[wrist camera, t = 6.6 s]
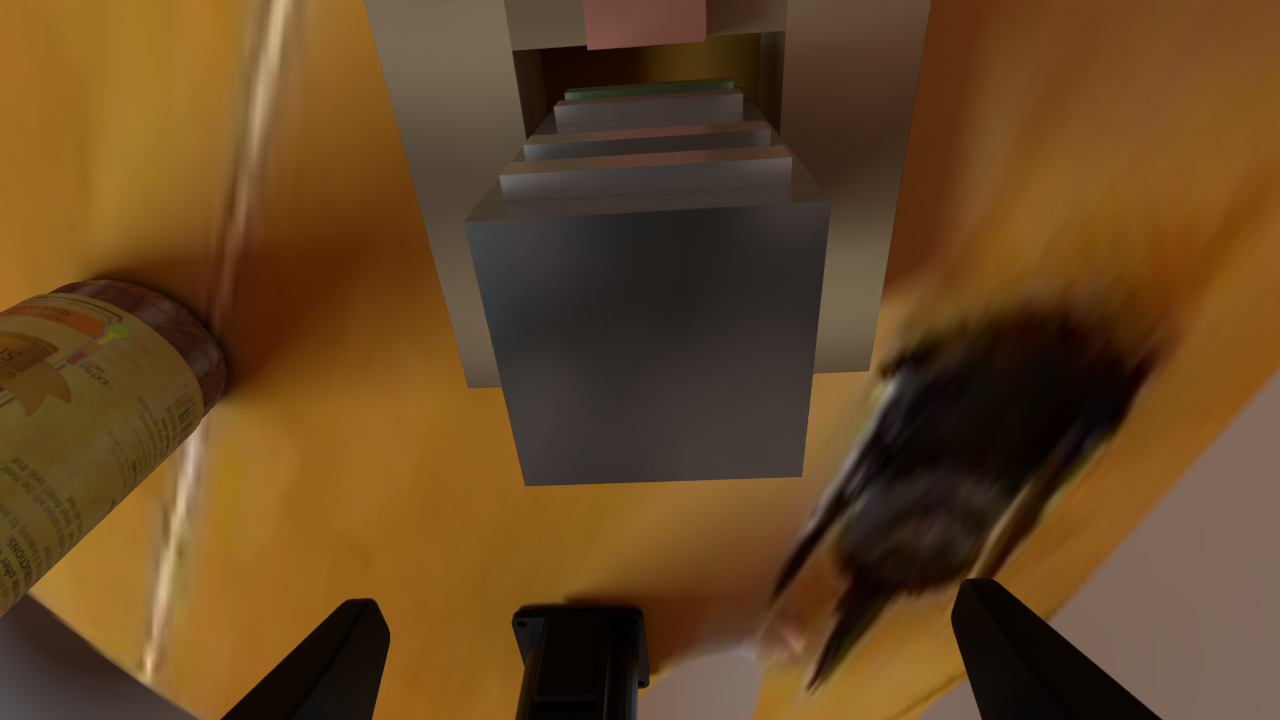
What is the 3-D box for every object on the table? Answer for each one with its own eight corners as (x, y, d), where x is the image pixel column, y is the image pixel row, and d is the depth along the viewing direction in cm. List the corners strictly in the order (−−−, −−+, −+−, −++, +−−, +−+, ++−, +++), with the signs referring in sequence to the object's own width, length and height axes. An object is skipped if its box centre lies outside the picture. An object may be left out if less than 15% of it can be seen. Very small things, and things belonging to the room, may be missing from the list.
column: (736, 267, 15) (800, 491, 9) (582, 275, 16) (528, 500, 9) (740, 71, 13) (835, 172, 6) (558, 84, 13) (457, 195, 6)
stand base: (838, 314, 20) (882, 395, 16) (494, 331, 21) (457, 412, 17) (899, -169, 14) (998, -228, 10) (391, -122, 14) (290, -162, 10)
